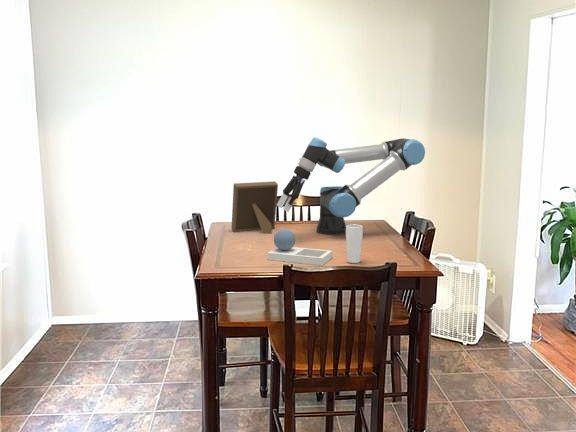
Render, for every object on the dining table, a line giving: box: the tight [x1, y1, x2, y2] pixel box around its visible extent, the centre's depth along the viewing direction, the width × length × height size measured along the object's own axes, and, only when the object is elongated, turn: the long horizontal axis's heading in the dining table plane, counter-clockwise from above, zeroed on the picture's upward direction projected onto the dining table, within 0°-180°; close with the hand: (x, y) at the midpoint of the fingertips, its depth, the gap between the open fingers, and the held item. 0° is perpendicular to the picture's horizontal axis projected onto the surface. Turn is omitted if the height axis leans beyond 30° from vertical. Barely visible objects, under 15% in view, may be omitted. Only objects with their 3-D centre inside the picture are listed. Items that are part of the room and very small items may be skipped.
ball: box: [273, 228, 296, 251], centre depth 244 cm, size 9×9×9 cm
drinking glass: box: [345, 223, 364, 264], centre depth 236 cm, size 7×7×15 cm
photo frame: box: [231, 181, 279, 234], centre depth 293 cm, size 15×22×25 cm
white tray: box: [266, 246, 334, 266], centre depth 243 cm, size 24×13×3 cm, turn 68°
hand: (282, 208), depth 272 cm, fingers open, 13 cm apart
